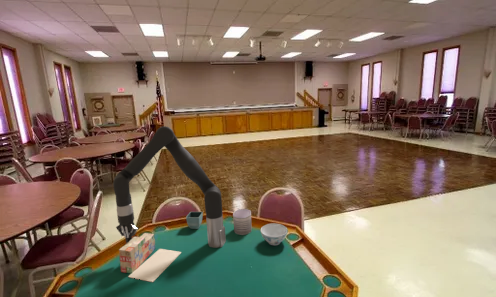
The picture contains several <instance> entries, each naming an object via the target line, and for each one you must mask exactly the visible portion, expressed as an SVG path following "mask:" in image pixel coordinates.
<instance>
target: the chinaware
mask: <svg viewBox="0 0 496 297" xmlns="http://www.w3.org/2000/svg"><path fill="white" fill-rule="evenodd" d="M260 234H261V236H262V238H263V240H264V241H266V242H267V243H268V244H269V245H270V246H278V245H280V244H281V242H283V241H284V240H285V239H286V237H287V234H288V228H287V226H285V225H283V224H280V223H267V224H265V225H263V226H261V228H260Z"/></svg>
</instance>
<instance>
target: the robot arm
mask: <svg viewBox="0 0 496 297" xmlns="http://www.w3.org/2000/svg"><path fill="white" fill-rule="evenodd" d="M163 148H165V149H166V150H167V151H168V152H169V154H171V156H172V158H173V160H174V162H175V163H176V164H177V166H178V167H179V169H180V170H181V171H182V172H183V174H184V175H185V176H186V177H187V178H188V180H190V181H192V182H193V183H194V184H196V185H197V187H199V189H200V190H201V191H202V193H203V195H204V198H203V199H204V209H205V217H206V229H207V230H206V231H207V232H206V233H207V244H208V246H209V247H210V248H215V249H216V248H222V247H223V246H224V245H225V243H226V242H227V240H226V238H227V237H226V226H224V217H223V216H224V215H223V201H222V200H223V199H222V192H221V190H220V188H219V187H218V186H217V185H216V184H215V183H214V182H213V181H212V180H211V179H210V178H209V176H208V175H207V173H206V171H205V170H203V168H202V167H201V165H200V164H199V162H198V161H197V159H196V158H195V157H194V156H193V155H192V154H191V153H190V152H189V151H188V150H187V148H185V147H184V146H183V145H182V143H181V142H180V141H179V138H178V137H177V136H176V135H175V133H174V130H173V129H172V128H171V127H170V126H165V125H164V126H160V127H159V128H157V129H156V131H155V133H154V134H153V136H152V138H151V139H150V141H149V142H148V144H146V146H145V147H144V148H143V149H141V150H140V151H139V152H138V153H137V154H136V155H135V156H134V157H133V158H132V160H130V161H129V163H128V164H127V165H126V166H125V167H124V168H123V169H121V170H120V171H119V173H117V175H116V176H115V177H114V179H113V183H112V184H113V185H112V186H113V190H114V195H115V202H116V215H117V223H118V225H117V226H116V227H115V228H116V230H117V231H118V232H119V234H120V235H121V237H124V238H125V244H126V243H128V242H129V241H130V240H131V239H132V238H133V237H135V235H136V233H138V230H140V229H139V227H138V226H136V225H135V222H134V221H135V215H134V214H135V213H134V207H133V202H132V201H133V200H132V194H131V191H130V182H131V181H132V180H133V178H135V177H136V176H138V175H139V174H140V173H141V172H142V171H143V170H144V168H146V166H147V165H148V164H149V163H150V162H151V161H152V159H153V158H154V157H155V156H156V155H157V154H158V153H159V152H160V151H161V150H162V149H163Z"/></svg>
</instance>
